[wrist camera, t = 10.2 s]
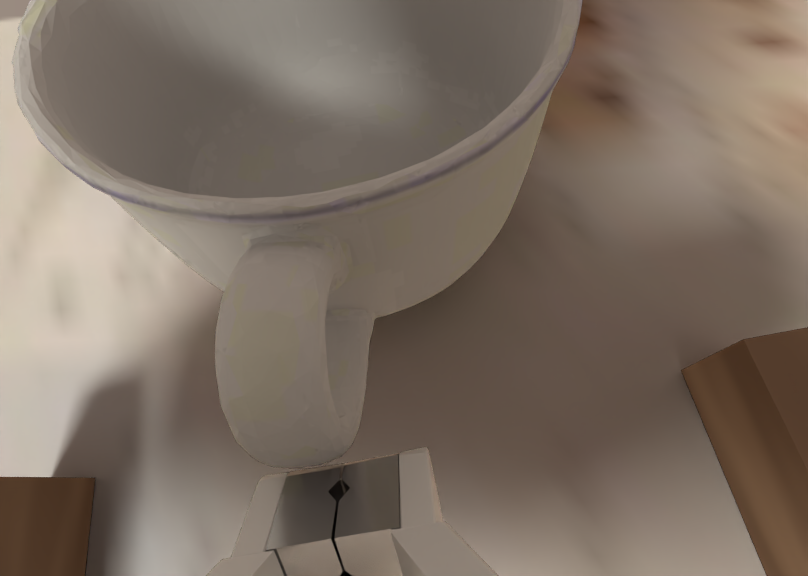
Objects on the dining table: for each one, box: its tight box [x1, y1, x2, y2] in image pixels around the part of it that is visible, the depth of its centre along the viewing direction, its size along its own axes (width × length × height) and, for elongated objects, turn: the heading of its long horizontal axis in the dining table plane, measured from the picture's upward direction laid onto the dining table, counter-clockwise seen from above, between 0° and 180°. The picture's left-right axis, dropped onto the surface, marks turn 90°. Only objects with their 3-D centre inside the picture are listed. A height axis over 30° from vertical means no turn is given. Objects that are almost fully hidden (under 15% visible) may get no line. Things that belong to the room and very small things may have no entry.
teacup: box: [12, 0, 582, 468], centre depth 11 cm, size 14×11×8 cm
